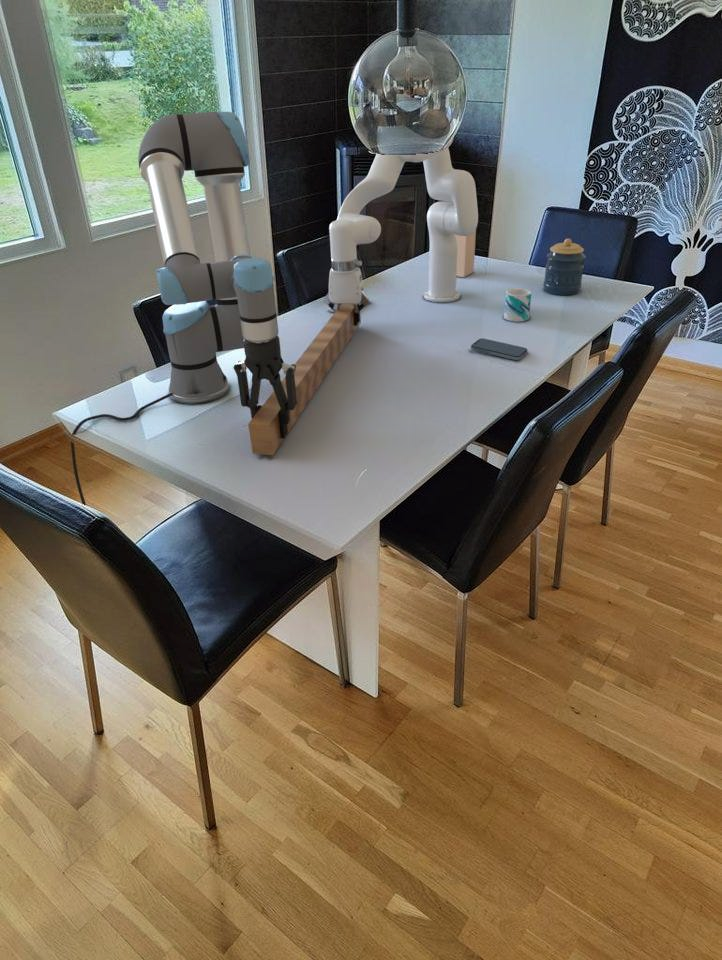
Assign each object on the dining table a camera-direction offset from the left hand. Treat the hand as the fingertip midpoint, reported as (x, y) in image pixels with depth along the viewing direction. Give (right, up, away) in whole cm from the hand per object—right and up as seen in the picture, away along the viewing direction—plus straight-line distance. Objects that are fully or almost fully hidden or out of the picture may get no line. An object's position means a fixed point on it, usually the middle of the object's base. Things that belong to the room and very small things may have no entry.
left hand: (272, 434), depth 152 cm
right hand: (+16, +38, +56) cm, 69 cm away
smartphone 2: (+60, +26, +41) cm, 77 cm away
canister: (+92, +57, +87) cm, 138 cm away
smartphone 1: (+16, +49, +79) cm, 95 cm away
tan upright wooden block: (+59, +71, +110) cm, 144 cm away
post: (+8, +18, +29) cm, 35 cm away
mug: (+72, +43, +66) cm, 106 cm away
